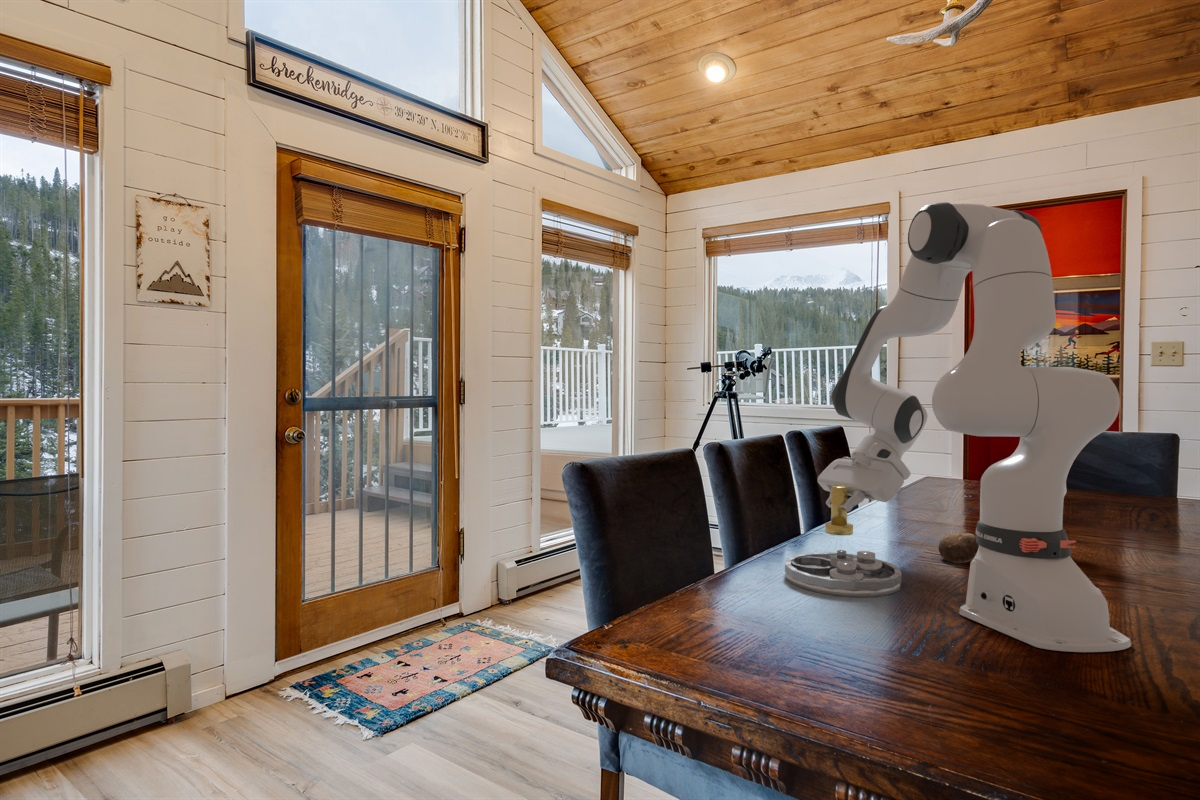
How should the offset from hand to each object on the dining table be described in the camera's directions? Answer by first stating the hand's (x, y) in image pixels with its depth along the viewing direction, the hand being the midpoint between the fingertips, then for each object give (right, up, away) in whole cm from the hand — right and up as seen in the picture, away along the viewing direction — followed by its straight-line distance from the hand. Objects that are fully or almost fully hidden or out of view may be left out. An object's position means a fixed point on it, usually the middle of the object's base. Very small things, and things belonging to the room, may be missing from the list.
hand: (836, 507), depth 145 cm
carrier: (-6, -10, -20) cm, 23 cm away
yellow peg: (+1, -5, 0) cm, 5 cm away
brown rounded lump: (+23, -10, -6) cm, 26 cm away
